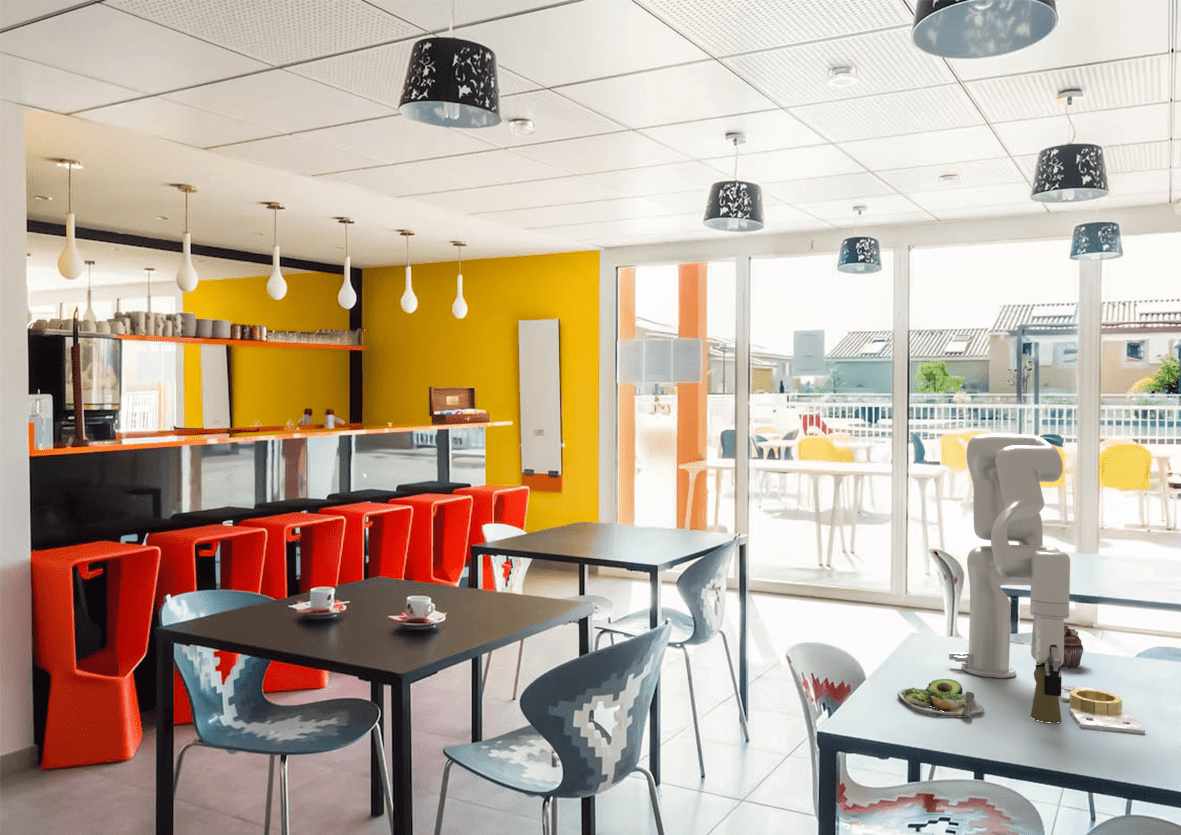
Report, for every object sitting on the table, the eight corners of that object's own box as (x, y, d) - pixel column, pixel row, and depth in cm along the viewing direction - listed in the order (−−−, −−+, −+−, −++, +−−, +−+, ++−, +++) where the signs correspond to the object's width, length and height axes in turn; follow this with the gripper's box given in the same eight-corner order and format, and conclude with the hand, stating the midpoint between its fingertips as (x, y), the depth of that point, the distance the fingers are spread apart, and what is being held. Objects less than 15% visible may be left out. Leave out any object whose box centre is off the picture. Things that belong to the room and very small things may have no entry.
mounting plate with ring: (1080, 727, 202) (1081, 713, 202) (1052, 687, 231) (1052, 675, 231) (1145, 734, 199) (1145, 719, 199) (1107, 693, 228) (1108, 680, 228)
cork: (1059, 725, 203) (1061, 673, 203) (1028, 719, 206) (1029, 668, 206) (1063, 717, 208) (1064, 667, 208) (1032, 712, 211) (1034, 662, 211)
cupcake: (1091, 668, 249) (1092, 629, 249) (1058, 669, 247) (1060, 630, 247) (1066, 658, 259) (1067, 621, 259) (1034, 660, 257) (1035, 622, 257)
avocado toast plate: (1005, 724, 204) (1005, 702, 204) (921, 723, 204) (922, 701, 204) (966, 696, 224) (967, 676, 224) (890, 695, 223) (890, 675, 223)
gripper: (1023, 601, 216) (1022, 677, 216) (1038, 615, 199) (1036, 698, 199) (1060, 603, 214) (1058, 681, 214) (1078, 617, 197) (1076, 701, 197)
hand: (1047, 689), depth 207 cm, fingers open, 9 cm apart
